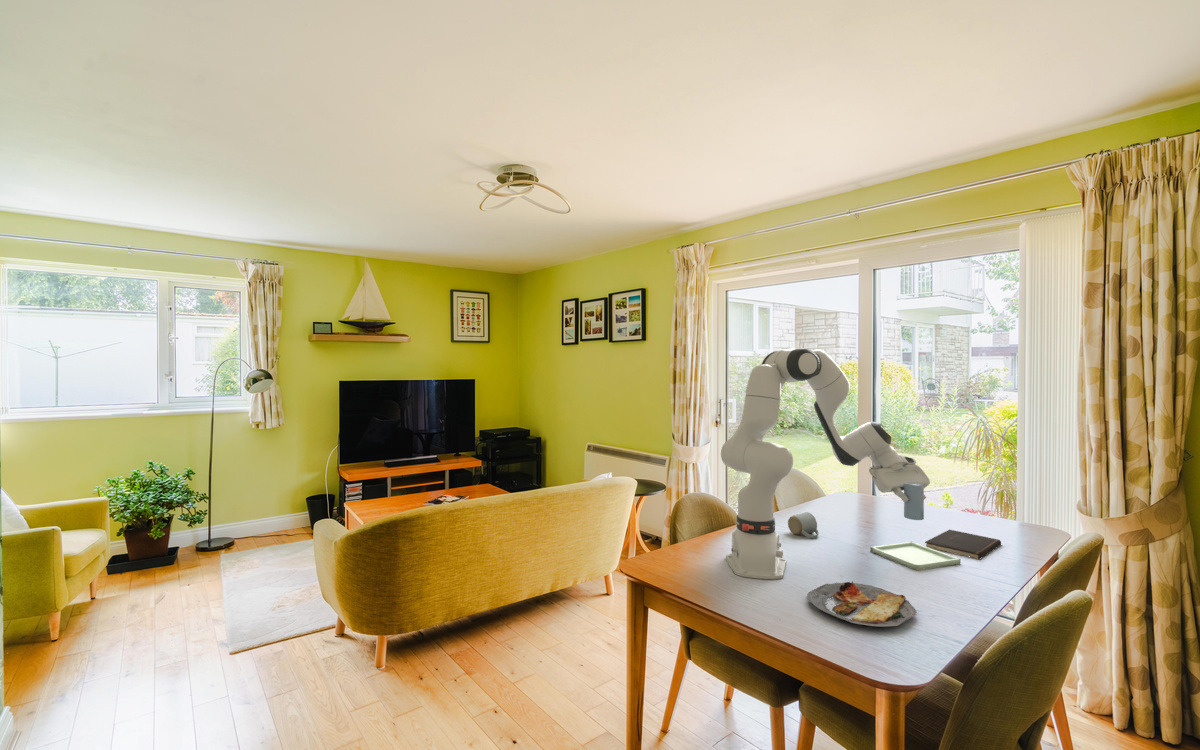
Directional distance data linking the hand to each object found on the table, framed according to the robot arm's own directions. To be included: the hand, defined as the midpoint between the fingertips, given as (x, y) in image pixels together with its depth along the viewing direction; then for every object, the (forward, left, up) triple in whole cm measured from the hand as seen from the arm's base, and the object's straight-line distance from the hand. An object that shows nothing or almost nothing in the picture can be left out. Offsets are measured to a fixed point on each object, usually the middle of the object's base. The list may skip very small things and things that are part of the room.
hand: (915, 500), depth 173 cm
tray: (+1, 0, -19) cm, 19 cm away
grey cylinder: (+1, 0, -6) cm, 6 cm away
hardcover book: (+17, -21, -20) cm, 33 cm away
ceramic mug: (+19, +31, -19) cm, 41 cm away
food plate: (-43, +27, -19) cm, 55 cm away
